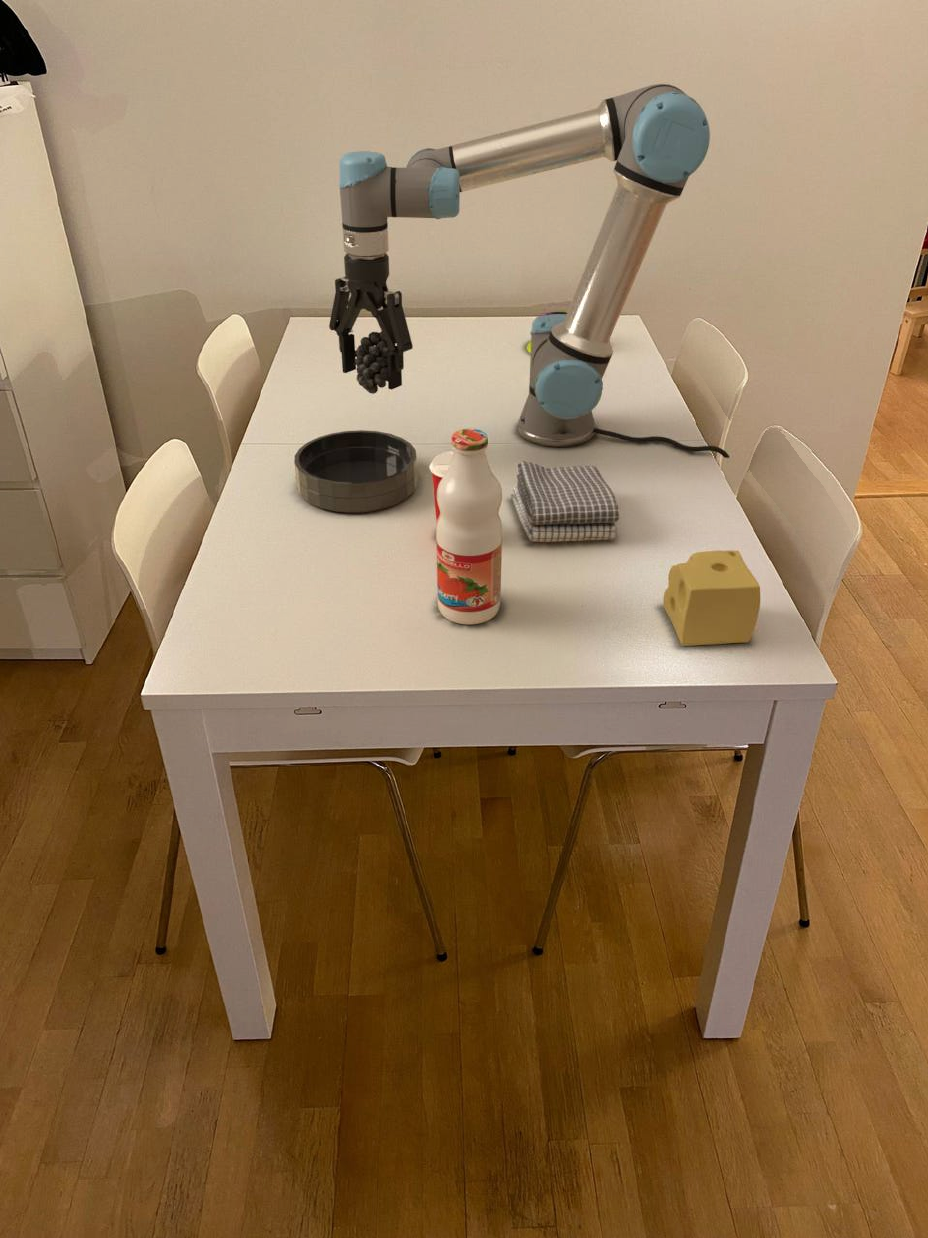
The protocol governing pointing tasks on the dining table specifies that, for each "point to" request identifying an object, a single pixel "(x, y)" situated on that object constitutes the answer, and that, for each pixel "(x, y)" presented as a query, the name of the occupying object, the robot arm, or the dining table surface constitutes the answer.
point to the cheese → (712, 599)
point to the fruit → (372, 362)
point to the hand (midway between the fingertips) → (371, 378)
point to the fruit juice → (469, 533)
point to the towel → (564, 503)
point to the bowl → (356, 471)
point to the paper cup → (439, 473)
